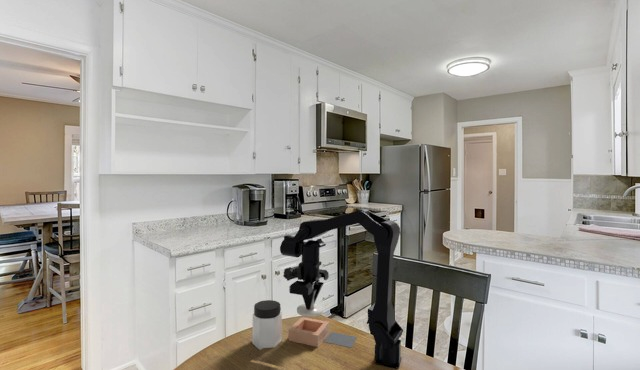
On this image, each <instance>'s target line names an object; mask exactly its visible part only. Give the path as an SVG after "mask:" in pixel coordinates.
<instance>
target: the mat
mask: <svg viewBox="0 0 640 370" xmlns="http://www.w3.org/2000/svg"><path fill="white" fill-rule="evenodd" d="M357 339H358V336H355V335H350V334H345V333H344V334H343V333H340V332H334V331H330V332H329V333H328V335H327V336H326V337H325V339H324V340H323V342H324V343H327V344H328V343H329V344H332V345H337V346H342V347H347V348H353V346H354V344H355V342H356V341H357Z"/></svg>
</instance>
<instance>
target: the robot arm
mask: <svg viewBox="0 0 640 370" xmlns="http://www.w3.org/2000/svg"><path fill="white" fill-rule="evenodd" d="M356 224H358V225H360V226H361V227H362V228H363V229H364V230H365V231H366V232H368V233H369V234H371V235H372V236H373V241H374V242H373V243H374V247H375V249H376V252H377V261H376V263H377V265H376V281H375V283H376V284H375V299H374V301H375V302H374V303H373V304H372V305H371V306H370V307H368V309H367V321H366V324H367V325H368V330H369V332H370V333H371V334H372V336H373V340H374V342H375V344H374V360H375V362H374V364H375V365H377V366H381V367H385V368H390V369H395V370H399V369H400V365H401V361H402V356H401V355H402V354H401V352H402V347H401V346H402V340H401V339H400V338H401V337H402V335H403V332H404V329H403V328H402V327H401V326H400V324H399V323H398V322H397V321H396V314H395V308H394V306H393V303H392V295H393V293H392V292H393V291H392V290H393V274H394V273H393V272H394V258H395V257H394V256H395V255H394V254H395V251H396V248H397V246H398V242H399V240H400V239H399V238H400V233H401V227H400V225H399V224H398V223H397V222H395V221H394V220H390V219H389V220H388V219H386V218H385V217H382V216H380V215H378V214H376V213H374V212H371V211H370V210H369V209H368V208H360V209H356V210H354V211H352V212H348V213H345V214H341V215H337V216H334V217H330V218H322V219H321V218H319V219H311V220H307V221H302V222H301V223H300V224H299V229H298V231H296V234H295V235H290V234H286V235H284V236H283V239H282V242H281V244H280V247H279V251H280V254H281V255H283V256H287V257H292V258H300V257H301V262H299V263H298V265H296V266H293V267H291V266H289V267H286V268H284V270H283V278H284V279H286V281H288V282H289V281H291V280H293V279H297V280H296V281H294V282H292V283H291V284H290V285H289V289H288V291H289V294H292V295H300V296H302V299H303V302H304V304H305V306H306V309H310V308H311V305H312V302H313V299H314V304H316V301H317V298H318V296H319V294H320V292H321V290H322V288H323V285H324V284H325V282H322V281H321V280H320V279H323V280H324V281H327V280H328V279H329V278H330V277H329V274H330V273H329V272H328V271H327V269H322V268H321V269H320V266H322V261H320V248H323V247H325V246H326V245H327V244H326V243H325V241H323V240H322V238H318V237H321V236H323V235H324V234H327V233H328V232H330V231H333V230H336V229H340V228H344V227H345V228H346V227H348V226H349V227H350V226H352V225H356ZM315 238H317V239H316V240H314V239H315ZM306 240H307V241H306Z"/></svg>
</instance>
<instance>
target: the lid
mask: <svg viewBox="0 0 640 370" xmlns="http://www.w3.org/2000/svg"><path fill="white" fill-rule="evenodd" d="M323 312H324V308H323V306H322V305H320V304H317V303H314V299H313V302H312V305H311V308H310V309H306V306H305V303H303V304H301V305H298V306H297V308H296V313H297V314H298V315H300V316H301V317H305V318H311V317H318V316H321V315H322V314H323Z"/></svg>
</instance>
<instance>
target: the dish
mask: <svg viewBox="0 0 640 370" xmlns="http://www.w3.org/2000/svg"><path fill="white" fill-rule="evenodd" d="M329 334H330V322H329V321H326V320H321V319H314V318H311V317H306V316H301V317H300V318H299V319H298V320H297V321H296V322H295V323H294V324H293V325H291V327H290V328H289V329H288V341H290V342H293V343H298V344H302V345H308V346H312V347H317V348H318V347H320V345H321V344H322V343H323V342H324V341H325V339H326V338H327V337H328V335H329Z"/></svg>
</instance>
